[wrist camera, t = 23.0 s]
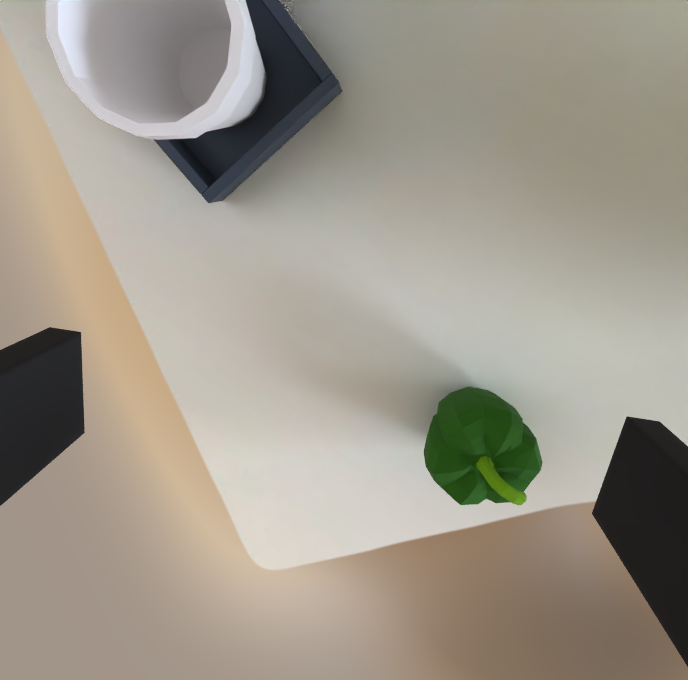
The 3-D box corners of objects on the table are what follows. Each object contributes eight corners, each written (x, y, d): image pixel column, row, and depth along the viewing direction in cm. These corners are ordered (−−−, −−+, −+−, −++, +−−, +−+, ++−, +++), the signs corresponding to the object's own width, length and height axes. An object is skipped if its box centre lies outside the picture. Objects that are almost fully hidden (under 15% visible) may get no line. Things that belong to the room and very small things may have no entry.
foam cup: (315, 86, 35) (285, 41, 23) (224, 176, 38) (152, 178, 25) (221, -33, 33) (133, -152, 21) (130, 69, 36) (4, 16, 23)
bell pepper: (400, 406, 43) (408, 471, 34) (482, 356, 42) (514, 410, 32) (451, 475, 45) (473, 554, 36) (532, 429, 44) (577, 501, 34)
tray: (342, 91, 36) (339, 82, 32) (222, 201, 39) (208, 203, 35) (227, -64, 33) (211, -90, 30) (108, 66, 36) (81, 56, 33)
